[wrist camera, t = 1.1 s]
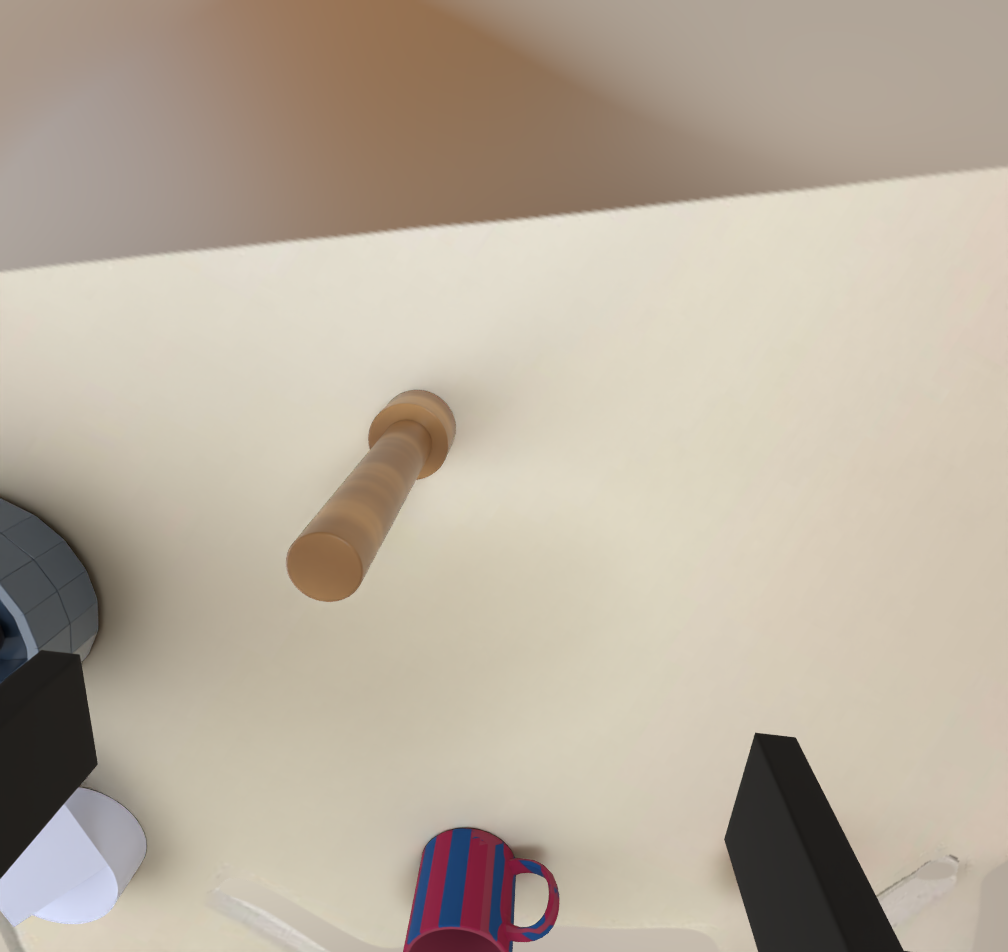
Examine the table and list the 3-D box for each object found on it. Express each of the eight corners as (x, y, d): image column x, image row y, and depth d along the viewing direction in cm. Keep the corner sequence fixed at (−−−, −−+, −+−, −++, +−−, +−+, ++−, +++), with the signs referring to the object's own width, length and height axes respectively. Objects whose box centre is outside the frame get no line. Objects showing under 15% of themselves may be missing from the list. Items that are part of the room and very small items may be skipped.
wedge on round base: (-33, 758, 45) (66, 888, 49) (-128, 843, 39) (-5, 984, 42) (75, 729, 43) (168, 866, 47) (-5, 813, 37) (111, 962, 41)
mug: (408, 836, 45) (386, 935, 39) (545, 810, 43) (546, 908, 37) (440, 903, 47) (424, 1007, 41) (572, 880, 45) (577, 984, 39)
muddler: (387, 382, 34) (264, 495, 19) (461, 398, 34) (397, 523, 19) (377, 453, 35) (254, 610, 20) (448, 468, 35) (379, 636, 20)
